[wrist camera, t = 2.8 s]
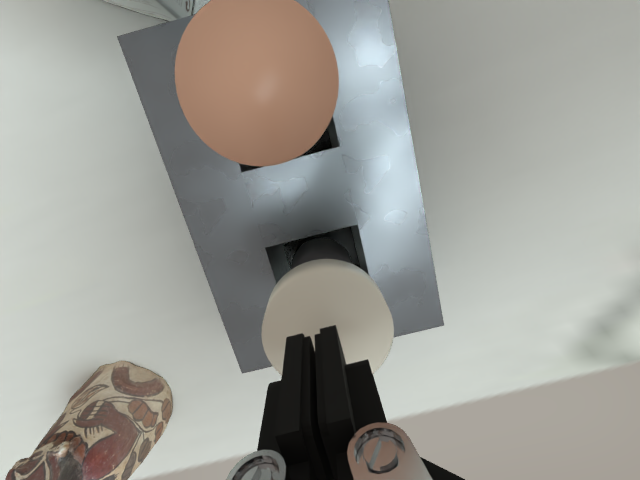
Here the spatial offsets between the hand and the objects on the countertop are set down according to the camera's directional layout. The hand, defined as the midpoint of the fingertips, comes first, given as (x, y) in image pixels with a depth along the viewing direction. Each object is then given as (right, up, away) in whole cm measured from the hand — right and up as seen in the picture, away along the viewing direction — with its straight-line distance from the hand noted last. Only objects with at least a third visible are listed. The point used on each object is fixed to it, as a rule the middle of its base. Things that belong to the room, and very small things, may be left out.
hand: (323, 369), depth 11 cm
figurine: (-15, -9, +16) cm, 24 cm away
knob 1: (-2, +11, +7) cm, 13 cm away
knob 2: (0, +3, +9) cm, 9 cm away
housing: (-1, +8, +12) cm, 14 cm away
